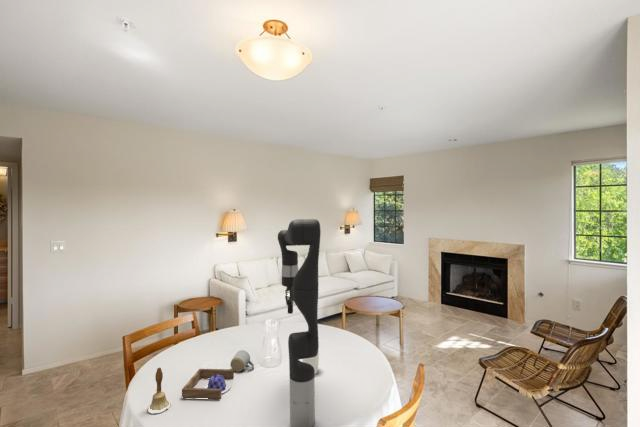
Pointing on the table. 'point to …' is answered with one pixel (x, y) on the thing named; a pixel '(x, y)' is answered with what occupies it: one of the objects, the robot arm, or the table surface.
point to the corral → (205, 392)
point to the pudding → (218, 383)
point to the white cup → (313, 362)
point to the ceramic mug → (241, 361)
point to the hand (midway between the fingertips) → (290, 313)
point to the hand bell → (159, 394)
